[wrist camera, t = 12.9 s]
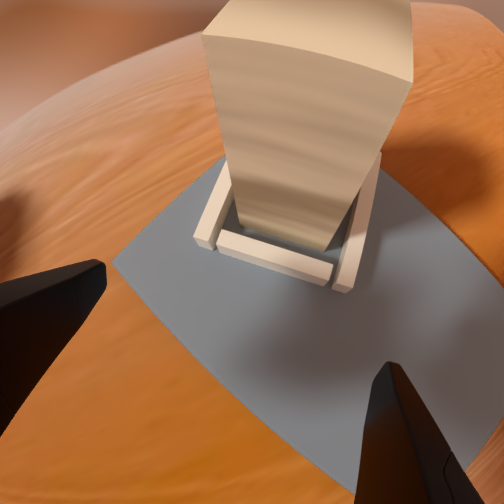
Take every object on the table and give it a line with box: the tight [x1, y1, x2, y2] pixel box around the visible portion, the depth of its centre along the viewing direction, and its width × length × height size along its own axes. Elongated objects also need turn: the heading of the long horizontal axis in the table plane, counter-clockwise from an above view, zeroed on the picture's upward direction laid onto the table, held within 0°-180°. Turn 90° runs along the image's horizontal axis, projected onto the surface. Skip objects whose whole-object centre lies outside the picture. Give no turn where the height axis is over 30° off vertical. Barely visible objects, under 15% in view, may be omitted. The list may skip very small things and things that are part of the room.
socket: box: [193, 152, 382, 293], centre depth 17 cm, size 8×8×2 cm
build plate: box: [111, 155, 504, 495], centre depth 16 cm, size 15×24×1 cm, turn 46°
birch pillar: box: [201, 0, 413, 252], centre depth 12 cm, size 5×5×12 cm
